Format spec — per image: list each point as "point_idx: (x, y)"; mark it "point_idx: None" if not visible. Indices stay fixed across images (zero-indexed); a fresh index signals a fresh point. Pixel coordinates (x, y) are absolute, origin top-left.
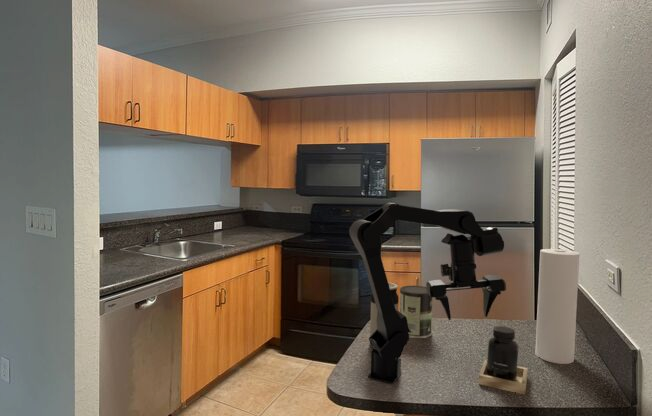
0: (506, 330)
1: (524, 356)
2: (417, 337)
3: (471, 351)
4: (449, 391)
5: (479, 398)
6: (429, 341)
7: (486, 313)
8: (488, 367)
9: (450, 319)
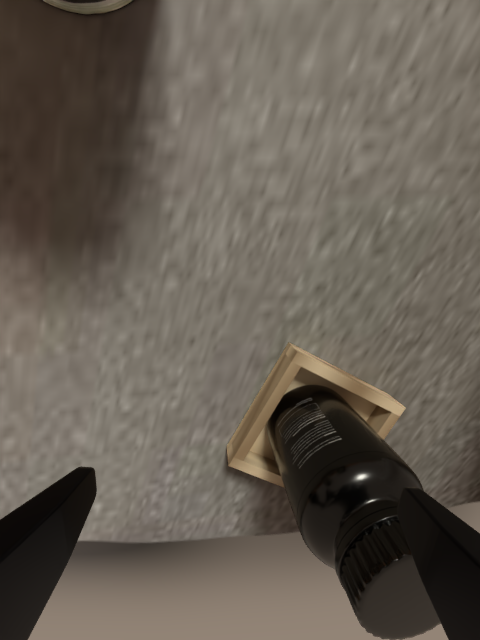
0: (419, 608)
1: (472, 243)
2: (72, 7)
3: (299, 196)
4: (128, 491)
5: (200, 513)
6: (137, 62)
7: (421, 565)
8: (272, 447)
9: (92, 501)
